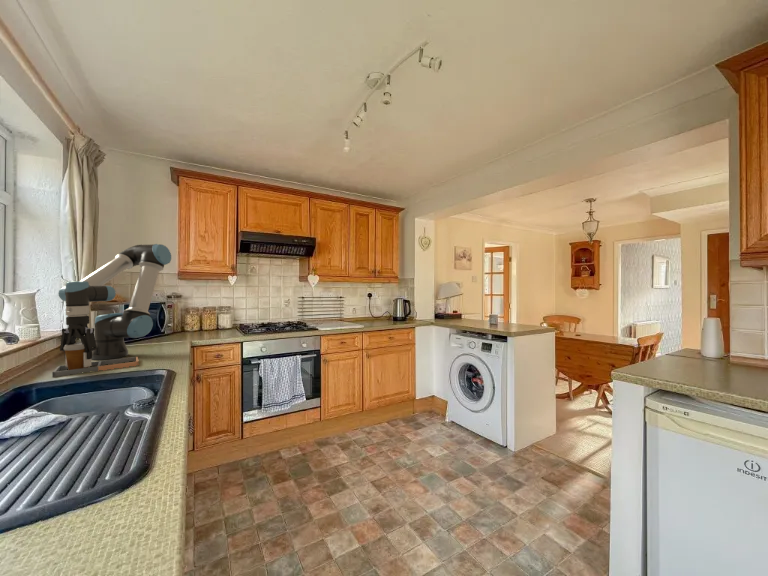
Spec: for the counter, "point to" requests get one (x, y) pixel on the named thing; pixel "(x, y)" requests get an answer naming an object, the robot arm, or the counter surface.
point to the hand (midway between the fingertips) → (78, 366)
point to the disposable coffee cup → (75, 356)
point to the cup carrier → (98, 364)
